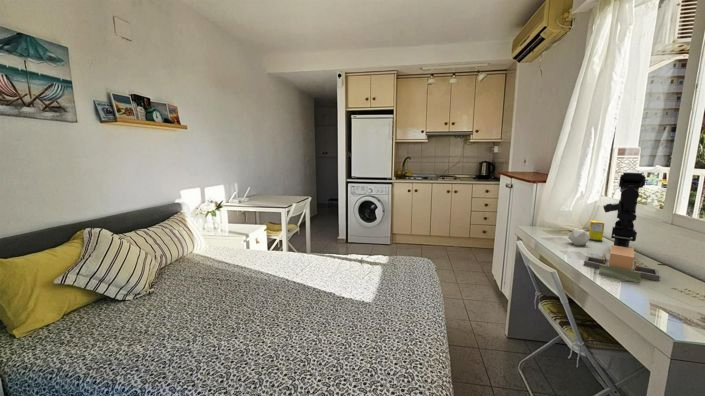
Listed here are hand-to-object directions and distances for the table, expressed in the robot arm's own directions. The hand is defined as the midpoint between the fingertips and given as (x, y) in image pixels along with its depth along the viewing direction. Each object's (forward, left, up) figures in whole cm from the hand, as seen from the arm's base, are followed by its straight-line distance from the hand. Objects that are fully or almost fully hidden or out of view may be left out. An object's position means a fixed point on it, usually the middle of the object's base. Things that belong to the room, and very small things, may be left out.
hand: (623, 231), depth 134 cm
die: (-12, -17, -13) cm, 25 cm away
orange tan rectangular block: (+22, 0, -13) cm, 25 cm away
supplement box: (-30, -11, -13) cm, 35 cm away
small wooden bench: (+18, 0, -13) cm, 23 cm away
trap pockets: (+20, 0, -13) cm, 24 cm away
